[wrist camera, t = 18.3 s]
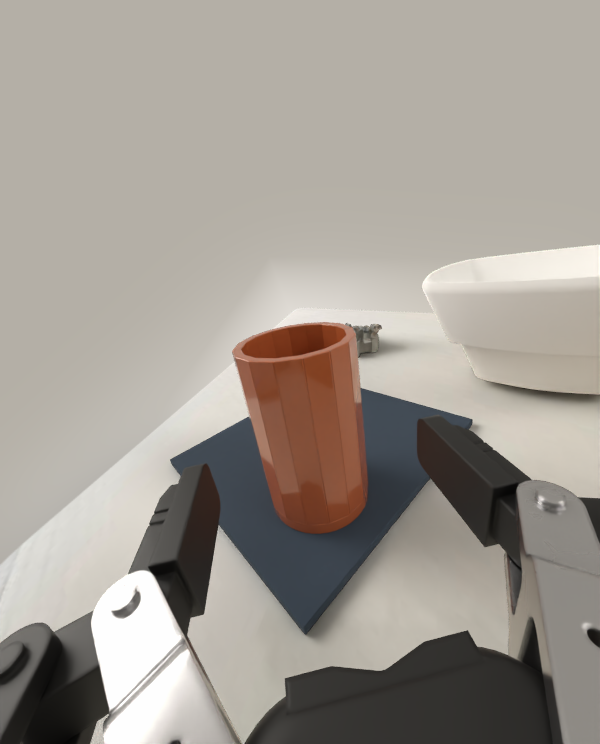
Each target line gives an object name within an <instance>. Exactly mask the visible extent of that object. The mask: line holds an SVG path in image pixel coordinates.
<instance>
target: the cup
mask: <svg viewBox="0 0 600 744" xmlns="http://www.w3.org/2000/svg"><path fill="white" fill-rule="evenodd" d="M232 353H233V357H234V361H235V365H236V368H237V372H238V376H239V380H240V384H241V387H242V391H243V395H244V399H245V402H246V406H247V410H248V414H249V418H250V421H251V425H252V429H253V433H254V437H255V440H256V444H257V448H258V452H259V456H260V459H261V463H262V467H263V471H264V475H265V478H266V482H267V486H268V490H269V493H270V496H271V499H272V503H273V507H274V510H275V512H276V514H277V515H278V517H279V518H280V519H281V520H282V521H283V522H284V523H285V524H286V525H287V526H289V527H291V528H293V529H295V530H297V531H300V532H304V533H310V534H322V533H329V532H333V531H336V530H339V529H341V528H343V527H345V526H347V525H348V524H350V523H351V522H353V521H354V520H355V519H356V518H357V517H358V516H359V515H360V513H361V512H362V510H363V509H364V507H365V505H366V502H367V498H368V475H367V463H366V450H365V438H364V426H363V414H362V402H361V389H360V377H359V365H358V353H357V341H356V333H355V331H354V329H353V328H352V327H350V326H347V325H344V324H340V323H328V322H320V323H304V324H297V325H290V326H285V327H281V328H276V329H272V330H269V331H265V332H262V333H259V334H257V335H254V336H252V337H249V338H248V339H246V340H244V341H242V342H240V343H239V344H237V346H236V347H235V348H234V349H233V351H232Z"/></svg>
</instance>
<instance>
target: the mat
mask: <svg viewBox="0 0 600 744" xmlns="http://www.w3.org/2000/svg"><path fill="white" fill-rule="evenodd" d="M360 389H361V402H362V414H363V426H364V438H365V450H366V463H367V475H368V498H367V502H366V505H365V507H364V509H363V510H362V512H361V513H360V515H359V516H358V517H357V518H356V519H355V520H354V521H353V522H351V523H350V524H348V525H347V526H345V527H343V528H341V529H339V530H336V531H333V532H329V533H322V534H310V533H304V532H300V531H297V530H295V529H293V528H291V527H289V526H287V525H286V524H285V523H284V522H283V521H282V520H281V519H280V518H279V517H278V515H277V514H276V512H275V510H274V507H273V503H272V499H271V496H270V493H269V490H268V486H267V482H266V478H265V475H264V471H263V467H262V463H261V459H260V456H259V452H258V448H257V444H256V440H255V437H254V433H253V429H252V425H251V421H250V418H249V417H247V418H245V419H244V420H242V421H240V422H238V423H236V424H234V425H233V426H231V427H229V428H227V429H225V430H223V431H222V432H220V433H218V434H216V435H214V436H212V437H211V438H209V439H207V440H205V441H203V442H202V443H200V444H198V445H196V446H194V447H192V448H191V449H189V450H187V451H185V452H183V453H181V454H180V455H178V456H176V457H174V458H172V459H170V461H171V464H172V465H173V467H174V468H175V469H176V470H177V472H178V473H179V474H180V476H181V475H182V472H183V470H184V468H186V467H191V466H195V465H200V464H205V463H207V464H208V466H209V468H210V471H211V474H212V476H213V479H214V482H215V485H216V488H217V491H218V493H219V497H220V506H221V510H220V517H219V525H220V527H221V528H222V529H223V531H224V532H225V533H226V534H227V536H228V537H229V538H230V539H231V541H232V542H233V543H234V545H235V546H236V547H237V548H238V550H239V551H240V552H241V554H242V555H243V556H244V557H245V559H246V560H247V561H248V563H249V564H250V565H251V566H252V568H253V569H254V570H255V571H256V573H257V574H258V575H259V577H260V578H261V579H262V580H263V582H264V583H265V584H266V586H267V587H268V588H269V589H270V591H271V592H272V593H273V594H274V596H275V597H276V598H277V600H278V601H279V602H280V603H281V605H282V606H283V607H284V609H285V610H286V611H287V612H288V614H289V615H290V616H291V618H292V619H293V620H294V621H295V623H296V624H297V625H298V626H299V628H300V629H301V630H302V632H303V633H304V634H305V635H306V634H307V632H308V631H309V630H310V629H311V627H312V626H313V625H314V623H315V622H316V621H317V620H318V618H319V617H320V616H321V615H322V613H323V612H324V611H325V610H326V608H327V607H328V606H329V605H330V603H331V602H332V601H333V600H334V598H335V597H336V596H337V594H338V593H339V592H340V591H341V589H342V588H343V587H344V586H345V584H346V583H347V582H348V581H349V579H350V578H351V577H352V576H353V574H354V573H355V572H356V571H357V569H358V568H359V567H360V566H361V564H362V563H363V562H364V560H365V559H366V558H367V557H368V555H369V554H370V553H371V552H372V550H373V549H374V548H375V547H376V545H377V544H378V543H379V542H380V540H381V539H382V538H383V537H384V535H385V534H386V533H387V531H388V530H389V529H390V528H391V526H392V525H393V524H394V523H395V521H396V520H397V519H398V518H399V516H400V515H401V514H402V513H403V511H404V510H405V509H406V508H407V506H408V505H409V504H410V502H411V501H412V500H413V499H414V497H415V496H416V495H417V494H418V492H419V491H420V490H421V489H422V487H423V486H424V485H425V484H426V482H427V481H428V480H429V479H430V477H429V475H428V474H427V473H426V472H425V470H424V469H423V468H422V466H421V464H420V462H419V459H418V456H417V421H418V419H420V418H425V417H430V416H434V415H441V416H442V417H443V418H445V419H446V420H447V421H448V422H449V423H450V424H452V425H459V426H461V427H463V428H465V429H467V430H468V429H469V428H470V427H471V426H472V419H469V418H466V417H462V416H458V415H455V414H451V413H448V412H444V411H441V410H437V409H433V408H430V407H426V406H423V405H419V404H416V403H412V402H409V401H405V400H401V399H398V398H394V397H391V396H387V395H384V394H380V393H377V392H373V391H369V390H366V389H362V388H360Z"/></svg>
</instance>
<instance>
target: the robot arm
mask: <svg viewBox="0 0 600 744" xmlns="http://www.w3.org/2000/svg"><path fill="white" fill-rule="evenodd" d="M417 456H418V459H419V462H420V464H421V466H422V468H423V469H424V470H425V472H426V473H427V474H428V475H429V477H430V478H431V479H432V480H433V482H434V483H435V484H436V486H437V487H438V488H439V489H440V491H441V492H442V493H443V494H444V496H445V497H446V498H447V500H448V501H449V502H450V503H451V505H452V506H453V507H454V509H455V510H456V511H457V512H458V514H459V515H460V516H461V517H462V519H463V520H464V521H465V523H466V524H467V525H468V526H469V528H470V529H471V530H472V531H473V533H474V534H475V535H476V537H477V538H478V539H479V540H480V542H481V543H482V544H483V545H484V547H487V546H491V545H496V544H500V545H501V547H502V548H503V549H504V550H505V554H504V564H505V576H506V589H507V602H508V615H509V641H508V655H506V654H503V653H501V652H498V651H495V650H491V649H487V648H483V647H477V646H476V644H475V642H474V641H473V639H472V637H471V635H470V634H469V632H468V630H467V631H464V632H460V633H456V634H452V635H448V636H445V637H441V638H437V639H433V640H429V641H426V642H423V643H422V644H421V645H419V646H418V647H416V648H415V649H414V650H412V651H411V652H410V653H408V654H407V655H405V656H404V657H403V658H401V659H400V660H399V661H397V662H396V663H394V664H393V665H392V666H390V667H389V668H387V669H386V670H383V671H374V670H363V669H353V668H343V667H333V666H331V667H327V668H323V669H319V670H316V671H312V672H308V673H304V674H300V675H297V676H293V677H289V678H285V687H286V697H285V698H283V699H282V700H280V701H279V702H278V703H277V704H276V705H275V706H273V707H272V708H271V709H270V710H269V711H268V712H267V713H266V714H265V716H264V717H263V718H262V719H261V720H260V721H259V723H258V724H257V725H256V727H255V728H254V730H253V731H252V733H251V734H250V736H249V737H248V739H247V740H246V742H245V744H600V499H599V498H579V497H577V496H576V495H574V494H573V493H572V492H570V491H568V490H567V489H565V488H563V487H561V486H558V485H556V484H553V483H550V482H546V481H540V480H531V479H530V478H529V477H528V476H527V475H525V474H524V473H523V472H522V471H520V470H519V469H518V468H517V467H515V466H514V465H513V464H512V463H510V462H509V461H508V460H507V459H505V458H504V457H503V456H502V455H500V454H499V453H498V452H497V451H495V450H493V448H492V447H491V446H489V445H488V444H487V443H486V442H485V443H484V442H483V440H482V439H481V438H479V437H478V436H477V435H476V434H474V433H473V432H472V431H470V430H467V429H465V428H463V427H461V426H459V425H452V424H450V423H449V422H448V421H447V420H446V419H445V418H443V417H442V416H441V415H434V416H430V417H425V418H420V419H418V421H417ZM220 510H221V506H220V497H219V493H218V491H217V488H216V485H215V482H214V479H213V476H212V474H211V471H210V468H209V466H208V464H207V463H205V464H200V465H195V466H191V467H186V468H184V470H183V472H182V475H181V477H180V480H179V483H178V484H176V485H171V486H170V487H169V488H168V490H167V491H166V492H165V493H164V494H163V496H162V497H161V498H160V500H159V502H158V504H157V507H156V509H155V511H154V515H153V516H152V519H151V521H150V523H149V524H150V526H148V528H147V530H146V533H145V535H144V537H143V540H142V542H141V544H140V547H139V549H138V551H137V554H136V556H135V559H134V561H133V563H132V566H131V568H130V570H129V573H128V575H126V576H124V577H123V578H121V579H120V580H118V581H117V582H116V583H115V584H113V585H112V586H111V587H110V588H109V589H108V590H107V591H106V593H105V594H104V595H103V596H102V598H101V599H100V600H99V602H98V604H97V606H96V608H95V610H93V611H92V612H90V613H88V614H87V615H85V616H83V617H81V618H79V619H77V620H75V621H74V622H72V623H70V624H68V625H66V626H64V627H62V628H61V629H59V630H57V631H55V632H53V631H52V630H51V629H50V627H49V626H48V625H46V624H44V623H34V624H31V625H28V626H26V627H24V628H22V629H20V630H18V631H16V632H15V633H13V634H12V635H10V636H9V637H8V638H6V639H5V640H4V641H2V642H1V643H0V744H90V742H91V739H92V736H93V733H94V729H95V726H96V723H97V721H98V720H100V719H101V718H103V717H104V716H106V715H107V714H109V716H108V717H107V718H106V719H105V721H104V724H103V736H104V743H105V744H242V742H241V740H240V738H239V736H238V734H237V732H236V730H235V728H234V727H233V725H232V723H231V721H230V719H229V717H228V715H227V713H226V711H225V709H224V708H223V706H222V704H221V702H220V700H219V698H218V696H217V694H216V692H215V690H214V688H213V686H212V684H211V682H210V680H209V678H208V676H207V674H206V672H205V670H204V668H203V666H202V664H201V662H200V660H199V658H198V656H197V654H196V652H195V650H194V648H193V646H192V644H191V642H190V640H189V638H188V636H187V632H188V627H189V622H190V618H191V617H195V616H200V615H204V610H205V604H206V598H207V592H208V586H209V579H210V573H211V567H212V561H213V555H214V548H215V542H216V536H217V530H218V524H219V517H220Z"/></svg>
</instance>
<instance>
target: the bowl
mask: <svg viewBox="0 0 600 744" xmlns="http://www.w3.org/2000/svg"><path fill="white" fill-rule="evenodd" d="M422 290H423V292H424V294H425V296H426V298H427V300H428V302H429V304H430V306H431V308H432V310H433V312H434V314H435V316H436V318H437V320H438V322H439V323H440V325H441V327H442V329H443V331H444V333H445V335H446V337H447V338H448V340H449V341H450V342H452V343H457V344H461V346H462V348H463V350H464V352H465V354H466V356H467V358H468V361H469V363H470V365H471V367H472V369H473V371H474V374H475V375H476V377H478V378H479V379H483V380H486V381H490V382H495V383H500V384H506V385H511V386H516V387H521V388H528V389H535V390H542V391H552V392H564V393H581V394H598V395H600V245H592V246H582V247H573V248H563V249H553V250H545V251H535V252H527V253H519V254H509V255H501V256H492V257H485V258H477V259H470V260H465V261H461V262H457V263H453V264H450V265H447V266H444V267H442V268H440V269H437V270H435V271H433V272H432V273H430V274H429V275H428V276H427V277H426V279H425V280H424V282H423V285H422Z"/></svg>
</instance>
